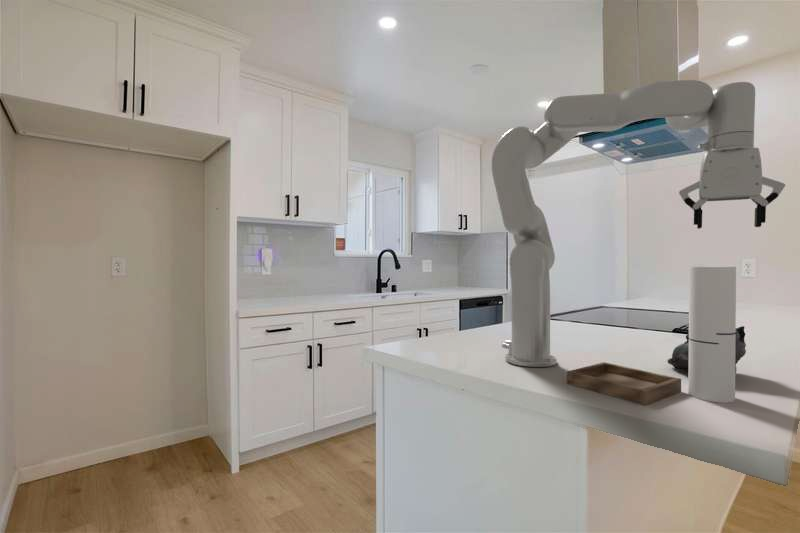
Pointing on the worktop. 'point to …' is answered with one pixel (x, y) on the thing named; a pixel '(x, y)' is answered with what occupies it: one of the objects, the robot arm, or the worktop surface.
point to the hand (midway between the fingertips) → (727, 227)
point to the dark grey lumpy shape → (682, 351)
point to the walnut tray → (625, 382)
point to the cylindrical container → (712, 333)
